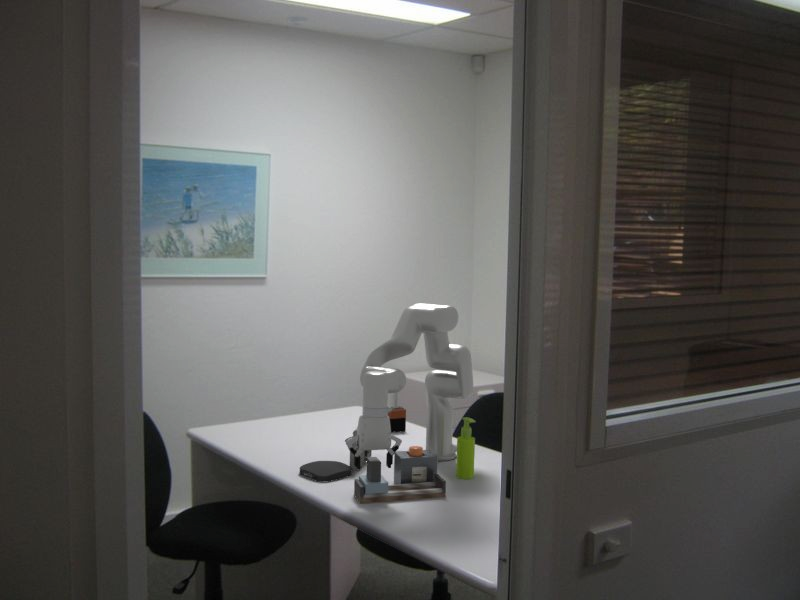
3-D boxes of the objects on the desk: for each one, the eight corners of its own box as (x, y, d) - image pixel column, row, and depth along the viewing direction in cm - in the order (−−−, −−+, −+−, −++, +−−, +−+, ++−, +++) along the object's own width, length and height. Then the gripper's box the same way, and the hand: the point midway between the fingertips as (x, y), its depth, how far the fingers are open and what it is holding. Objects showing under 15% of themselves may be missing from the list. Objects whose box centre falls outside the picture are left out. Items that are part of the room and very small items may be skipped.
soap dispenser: (463, 480, 265) (465, 421, 263) (452, 475, 271) (454, 416, 269) (478, 478, 268) (480, 419, 266) (467, 472, 274) (469, 415, 272)
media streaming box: (356, 475, 269) (356, 466, 269) (322, 484, 259) (322, 475, 259) (328, 465, 279) (328, 457, 279) (294, 473, 269) (294, 465, 269)
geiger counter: (361, 431, 271) (378, 415, 295) (343, 430, 272) (361, 413, 296) (360, 472, 272) (377, 452, 296) (342, 470, 273) (360, 451, 298)
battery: (405, 431, 328) (406, 407, 327) (390, 432, 325) (391, 408, 324) (401, 428, 332) (401, 404, 331) (386, 430, 329) (386, 406, 328)
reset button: (420, 458, 262) (420, 445, 262) (424, 462, 258) (424, 449, 258) (407, 459, 261) (407, 446, 261) (411, 462, 257) (411, 450, 256)
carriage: (380, 483, 251) (381, 455, 250) (388, 492, 242) (388, 463, 242) (358, 484, 249) (359, 456, 248) (365, 494, 240) (366, 464, 240)
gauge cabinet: (428, 479, 266) (429, 449, 265) (437, 487, 257) (437, 456, 257) (393, 481, 262) (394, 451, 261) (401, 489, 254) (401, 458, 253)
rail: (437, 488, 256) (437, 473, 255) (445, 497, 248) (445, 481, 248) (354, 494, 248) (354, 479, 248) (360, 503, 241) (360, 487, 240)
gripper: (398, 408, 250) (397, 462, 251) (344, 410, 245) (342, 465, 246) (405, 414, 242) (404, 469, 244) (349, 416, 238) (348, 472, 239)
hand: (373, 467), depth 245 cm, fingers open, 9 cm apart
